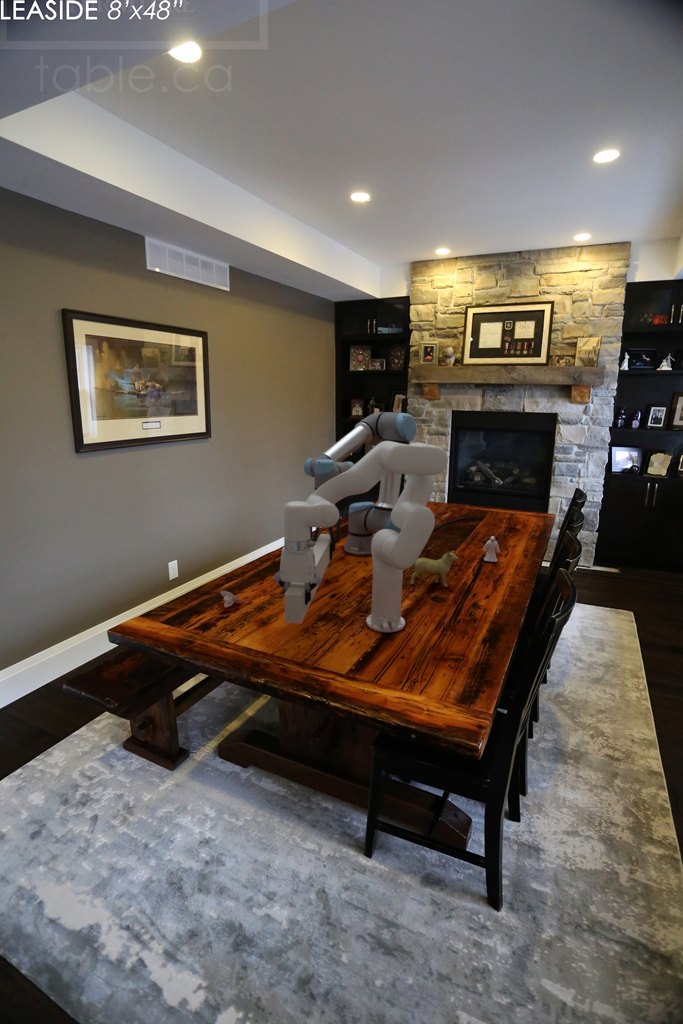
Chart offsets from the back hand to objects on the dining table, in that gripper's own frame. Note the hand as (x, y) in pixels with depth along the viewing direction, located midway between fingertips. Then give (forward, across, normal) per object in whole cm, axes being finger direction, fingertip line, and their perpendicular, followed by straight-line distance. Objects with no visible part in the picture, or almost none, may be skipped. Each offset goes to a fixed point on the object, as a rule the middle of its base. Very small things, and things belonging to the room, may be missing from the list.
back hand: (324, 558), depth 195 cm
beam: (+1, 0, +24) cm, 24 cm away
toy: (+10, -43, -4) cm, 44 cm away
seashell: (+9, +28, +28) cm, 41 cm away
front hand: (-3, 0, +47) cm, 47 cm away
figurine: (+10, -70, -38) cm, 80 cm away
